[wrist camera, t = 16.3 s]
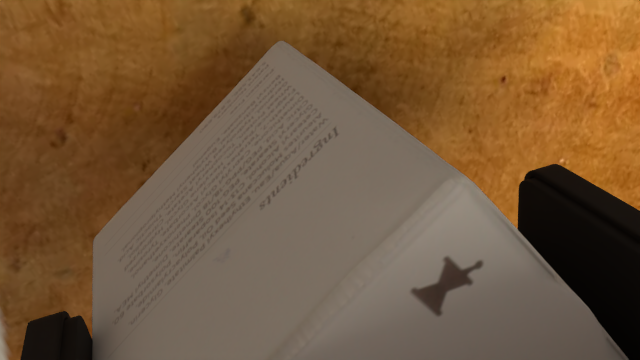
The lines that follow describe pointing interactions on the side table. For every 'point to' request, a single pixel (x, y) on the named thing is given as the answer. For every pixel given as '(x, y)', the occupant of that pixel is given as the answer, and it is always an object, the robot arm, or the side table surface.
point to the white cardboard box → (322, 244)
